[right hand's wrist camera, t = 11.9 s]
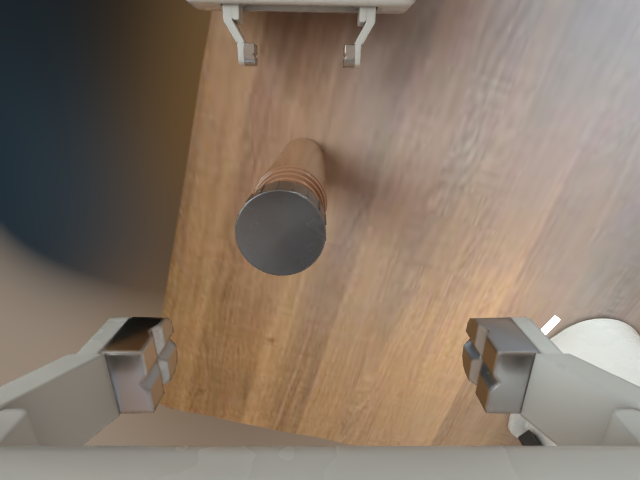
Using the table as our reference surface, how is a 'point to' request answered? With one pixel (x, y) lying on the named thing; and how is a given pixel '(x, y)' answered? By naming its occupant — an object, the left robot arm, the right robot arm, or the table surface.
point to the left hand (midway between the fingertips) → (300, 66)
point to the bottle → (300, 168)
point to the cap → (281, 228)
